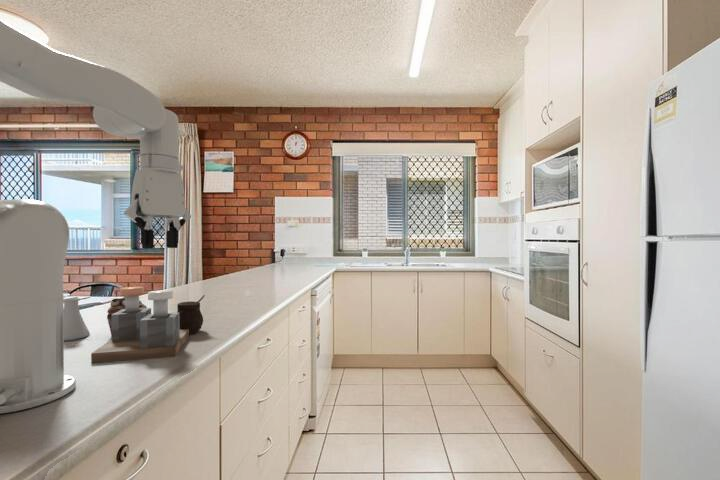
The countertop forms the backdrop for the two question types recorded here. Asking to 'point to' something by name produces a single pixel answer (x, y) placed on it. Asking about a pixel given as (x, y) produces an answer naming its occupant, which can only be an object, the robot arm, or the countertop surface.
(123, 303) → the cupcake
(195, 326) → the mate gourd
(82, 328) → the flask
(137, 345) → the board
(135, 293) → the orange rounded piece
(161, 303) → the white round part
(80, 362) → the countertop surface
